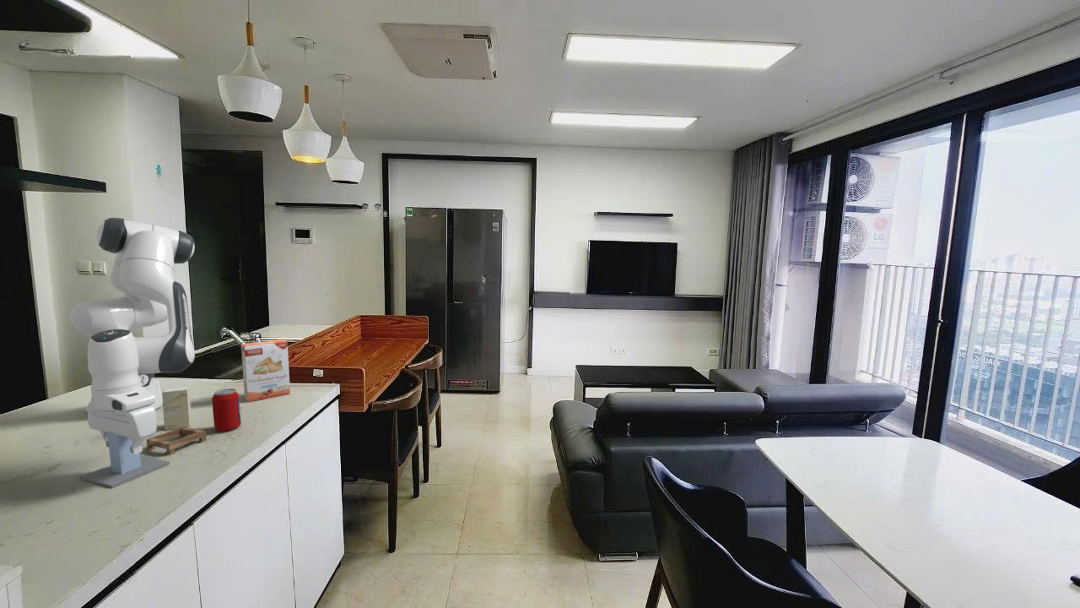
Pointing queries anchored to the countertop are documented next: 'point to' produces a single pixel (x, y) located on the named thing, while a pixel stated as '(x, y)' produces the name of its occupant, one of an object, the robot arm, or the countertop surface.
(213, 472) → the countertop surface
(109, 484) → the mat
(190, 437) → the wooden square frame
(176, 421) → the skincare box
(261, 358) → the cracker box
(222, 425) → the beverage can
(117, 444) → the peg
